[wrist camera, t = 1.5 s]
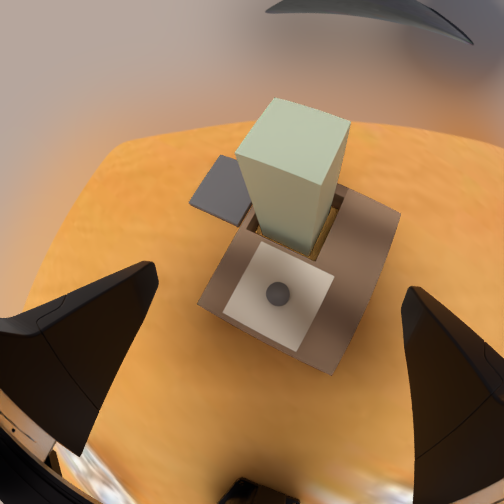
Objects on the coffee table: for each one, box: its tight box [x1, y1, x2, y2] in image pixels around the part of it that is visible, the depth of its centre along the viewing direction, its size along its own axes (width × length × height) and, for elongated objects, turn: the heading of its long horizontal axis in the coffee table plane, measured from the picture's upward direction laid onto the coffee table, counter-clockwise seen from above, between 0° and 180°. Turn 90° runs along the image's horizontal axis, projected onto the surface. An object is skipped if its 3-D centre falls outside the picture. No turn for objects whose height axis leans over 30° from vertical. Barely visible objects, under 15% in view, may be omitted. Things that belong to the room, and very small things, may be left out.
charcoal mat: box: [189, 155, 252, 227], centre depth 25 cm, size 6×6×1 cm
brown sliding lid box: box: [197, 183, 401, 376], centre depth 21 cm, size 14×12×4 cm
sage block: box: [235, 98, 351, 257], centre depth 18 cm, size 4×4×12 cm
